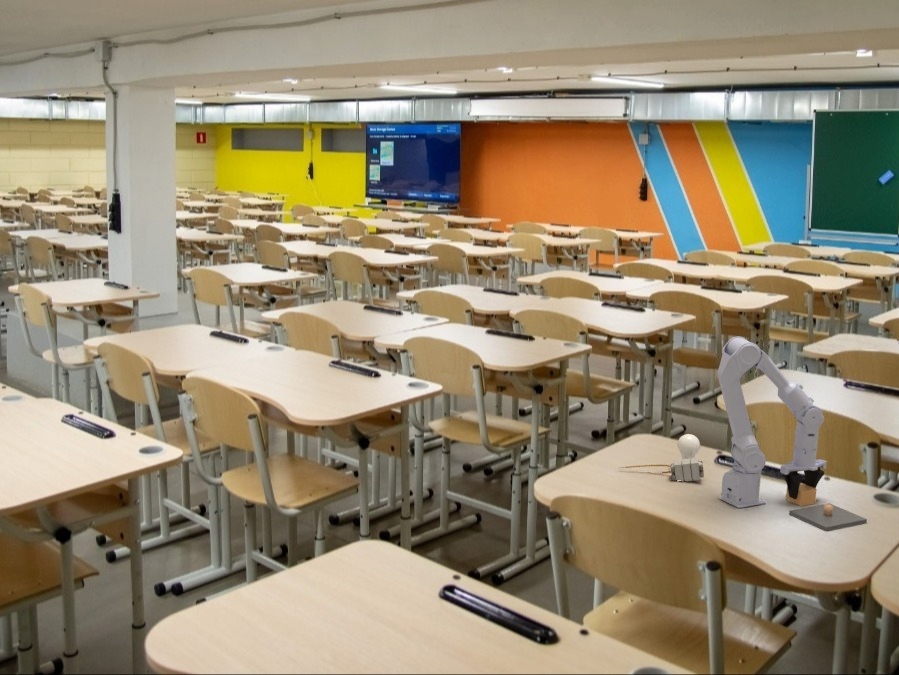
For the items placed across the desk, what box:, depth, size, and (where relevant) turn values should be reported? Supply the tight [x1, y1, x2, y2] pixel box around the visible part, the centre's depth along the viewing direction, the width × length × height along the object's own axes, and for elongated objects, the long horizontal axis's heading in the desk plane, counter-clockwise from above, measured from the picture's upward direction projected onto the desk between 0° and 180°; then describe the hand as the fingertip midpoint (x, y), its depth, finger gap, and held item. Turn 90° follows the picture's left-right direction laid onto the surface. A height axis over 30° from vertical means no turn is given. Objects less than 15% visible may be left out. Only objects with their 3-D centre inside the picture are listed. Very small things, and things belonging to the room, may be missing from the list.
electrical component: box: [618, 457, 705, 482], centre depth 265 cm, size 24×6×5 cm, turn 75°
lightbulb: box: [677, 433, 701, 462], centre depth 271 cm, size 6×6×11 cm
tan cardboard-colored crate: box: [785, 482, 817, 507], centre depth 248 cm, size 5×5×4 cm
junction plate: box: [788, 503, 868, 532], centre depth 236 cm, size 14×12×4 cm
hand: (800, 496), depth 248 cm, fingers closed on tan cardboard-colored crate, 5 cm apart
